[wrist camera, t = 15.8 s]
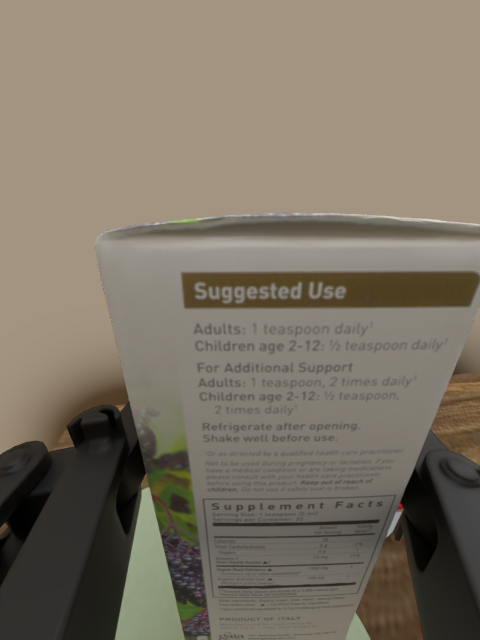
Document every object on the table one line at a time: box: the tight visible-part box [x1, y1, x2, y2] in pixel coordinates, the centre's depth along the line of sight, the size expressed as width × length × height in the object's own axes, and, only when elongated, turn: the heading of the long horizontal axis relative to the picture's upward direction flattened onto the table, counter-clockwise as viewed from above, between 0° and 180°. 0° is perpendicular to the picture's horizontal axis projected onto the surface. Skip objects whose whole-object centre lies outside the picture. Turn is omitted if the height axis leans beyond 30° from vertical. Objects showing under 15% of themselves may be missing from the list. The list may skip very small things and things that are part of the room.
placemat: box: [115, 487, 371, 640], centre depth 13 cm, size 14×22×1 cm, turn 22°
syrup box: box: [95, 213, 480, 640], centre depth 8 cm, size 6×6×14 cm
